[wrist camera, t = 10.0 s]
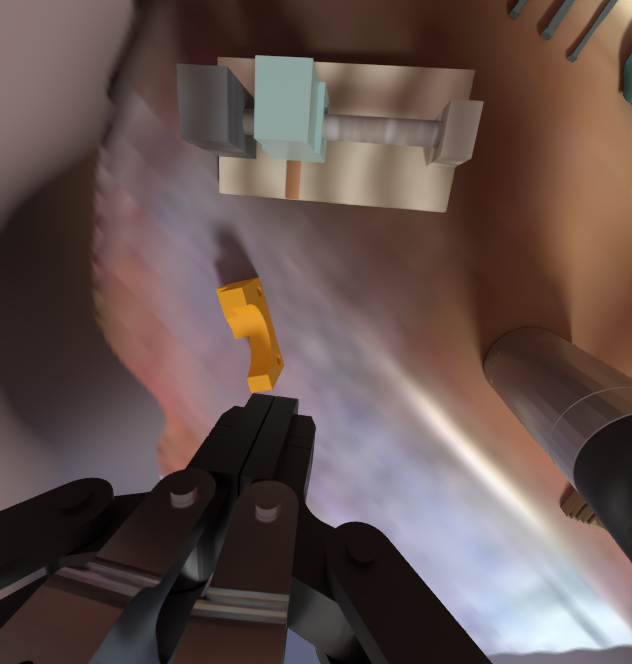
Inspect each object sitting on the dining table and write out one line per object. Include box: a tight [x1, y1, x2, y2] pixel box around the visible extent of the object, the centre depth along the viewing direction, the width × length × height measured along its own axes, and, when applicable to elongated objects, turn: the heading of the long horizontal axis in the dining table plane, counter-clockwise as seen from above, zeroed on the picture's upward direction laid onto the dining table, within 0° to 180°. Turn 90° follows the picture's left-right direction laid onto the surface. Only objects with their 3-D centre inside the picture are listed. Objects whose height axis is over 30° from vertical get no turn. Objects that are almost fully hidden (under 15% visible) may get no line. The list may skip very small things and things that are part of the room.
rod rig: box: [176, 57, 484, 212], centre depth 29 cm, size 24×12×10 cm, turn 85°
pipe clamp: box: [216, 277, 284, 393], centre depth 38 cm, size 12×4×6 cm, turn 13°
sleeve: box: [254, 55, 330, 163], centre depth 27 cm, size 5×5×9 cm
